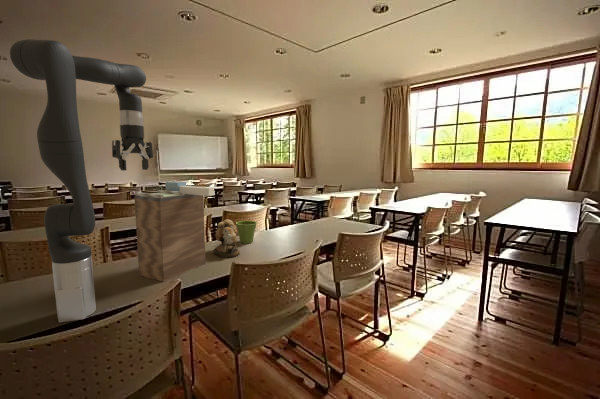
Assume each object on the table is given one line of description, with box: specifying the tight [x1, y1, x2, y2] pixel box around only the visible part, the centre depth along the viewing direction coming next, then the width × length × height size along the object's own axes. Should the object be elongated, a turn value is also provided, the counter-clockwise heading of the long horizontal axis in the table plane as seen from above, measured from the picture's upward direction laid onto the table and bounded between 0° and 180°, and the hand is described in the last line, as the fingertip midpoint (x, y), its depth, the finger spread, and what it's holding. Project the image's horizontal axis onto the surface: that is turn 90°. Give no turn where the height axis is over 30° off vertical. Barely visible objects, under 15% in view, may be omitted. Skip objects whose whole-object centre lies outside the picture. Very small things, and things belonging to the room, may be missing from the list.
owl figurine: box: [212, 219, 241, 259], centre depth 146 cm, size 18×12×17 cm, turn 39°
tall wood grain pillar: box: [134, 189, 206, 282], centre depth 122 cm, size 14×22×33 cm, turn 155°
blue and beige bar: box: [165, 180, 215, 197], centre depth 122 cm, size 23×4×4 cm, turn 65°
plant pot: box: [235, 220, 258, 244], centre depth 166 cm, size 12×12×11 cm
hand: (134, 170), depth 108 cm, fingers open, 8 cm apart
